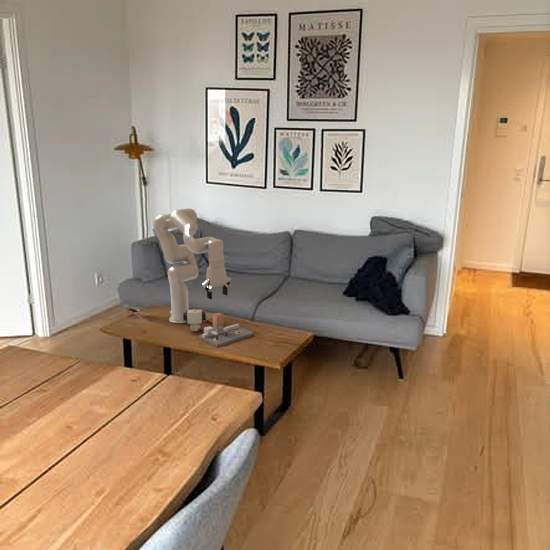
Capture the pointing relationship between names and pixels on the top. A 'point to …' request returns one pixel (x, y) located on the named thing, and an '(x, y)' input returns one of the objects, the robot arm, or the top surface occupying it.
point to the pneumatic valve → (194, 318)
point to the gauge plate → (224, 335)
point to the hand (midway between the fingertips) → (217, 296)
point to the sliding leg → (218, 322)
